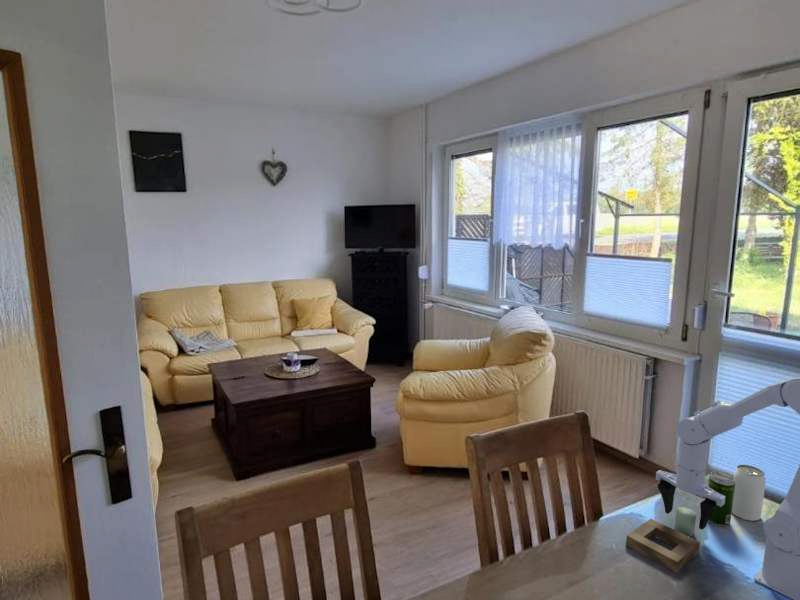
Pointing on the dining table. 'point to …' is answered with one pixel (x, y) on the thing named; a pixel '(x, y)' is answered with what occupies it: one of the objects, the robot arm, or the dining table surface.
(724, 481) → the beer can
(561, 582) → the dining table surface
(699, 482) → the robot arm
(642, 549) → the socket
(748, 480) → the can
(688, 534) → the peg
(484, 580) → the dining table surface
